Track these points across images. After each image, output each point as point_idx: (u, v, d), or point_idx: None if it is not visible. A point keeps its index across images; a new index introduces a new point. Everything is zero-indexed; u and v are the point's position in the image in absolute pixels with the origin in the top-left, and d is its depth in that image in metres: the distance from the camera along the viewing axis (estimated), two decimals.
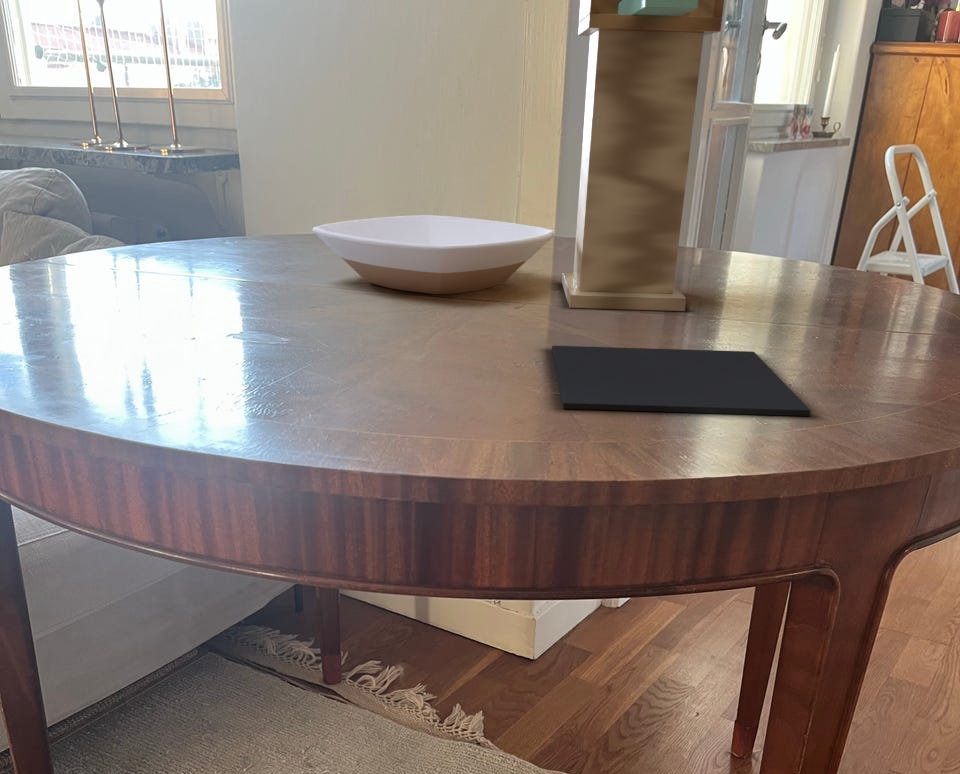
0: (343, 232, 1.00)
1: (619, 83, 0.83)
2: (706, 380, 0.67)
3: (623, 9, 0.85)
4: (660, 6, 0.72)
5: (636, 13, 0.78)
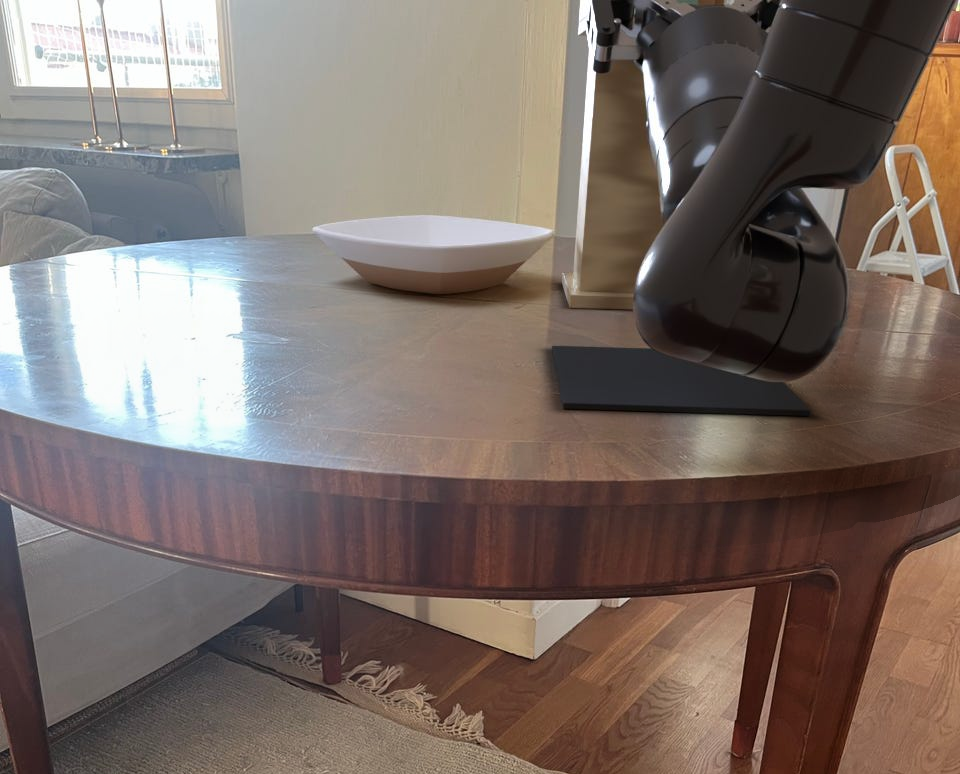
0: (343, 232, 1.00)
1: (619, 83, 0.83)
2: (706, 380, 0.67)
3: None
4: None
5: None
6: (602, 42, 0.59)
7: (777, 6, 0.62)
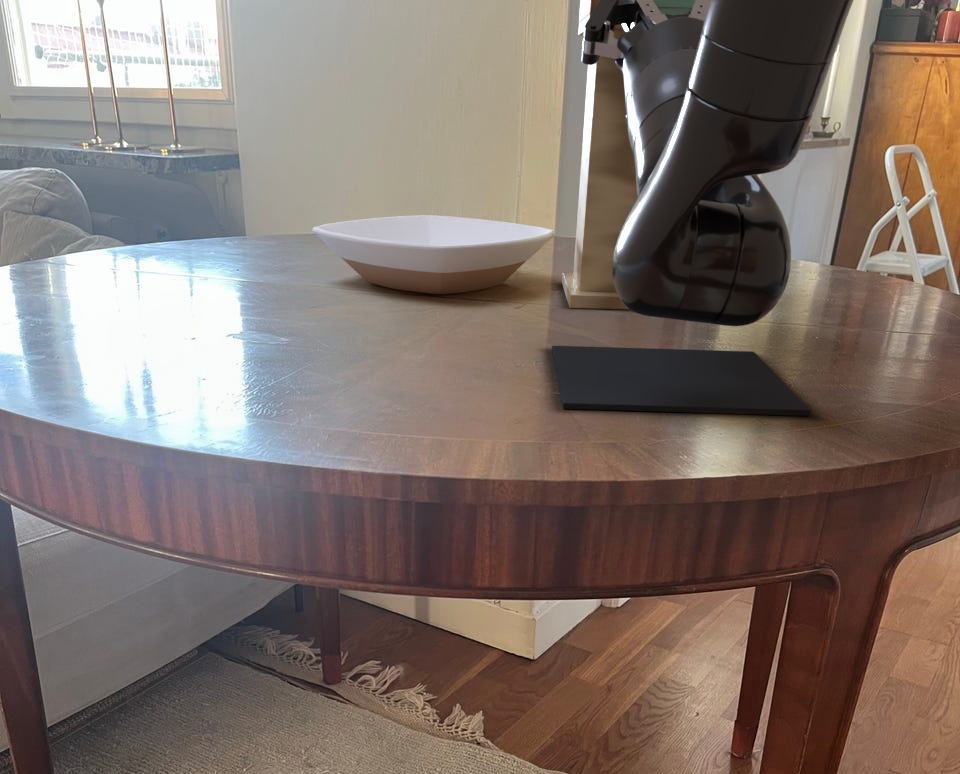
0: (343, 232, 1.00)
1: (619, 83, 0.83)
2: (706, 380, 0.67)
3: None
4: (660, 6, 0.72)
5: None
6: (587, 37, 0.70)
7: None
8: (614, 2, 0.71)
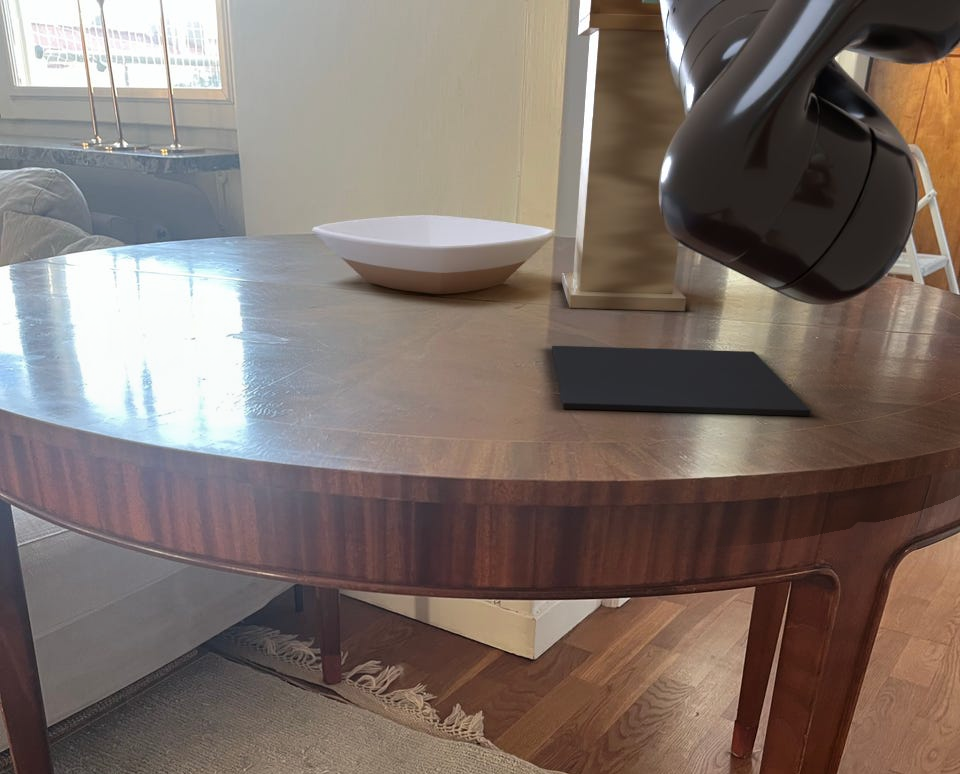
0: (343, 232, 1.00)
1: (619, 83, 0.83)
2: (706, 380, 0.67)
3: None
4: None
5: None
6: None
7: None
8: None
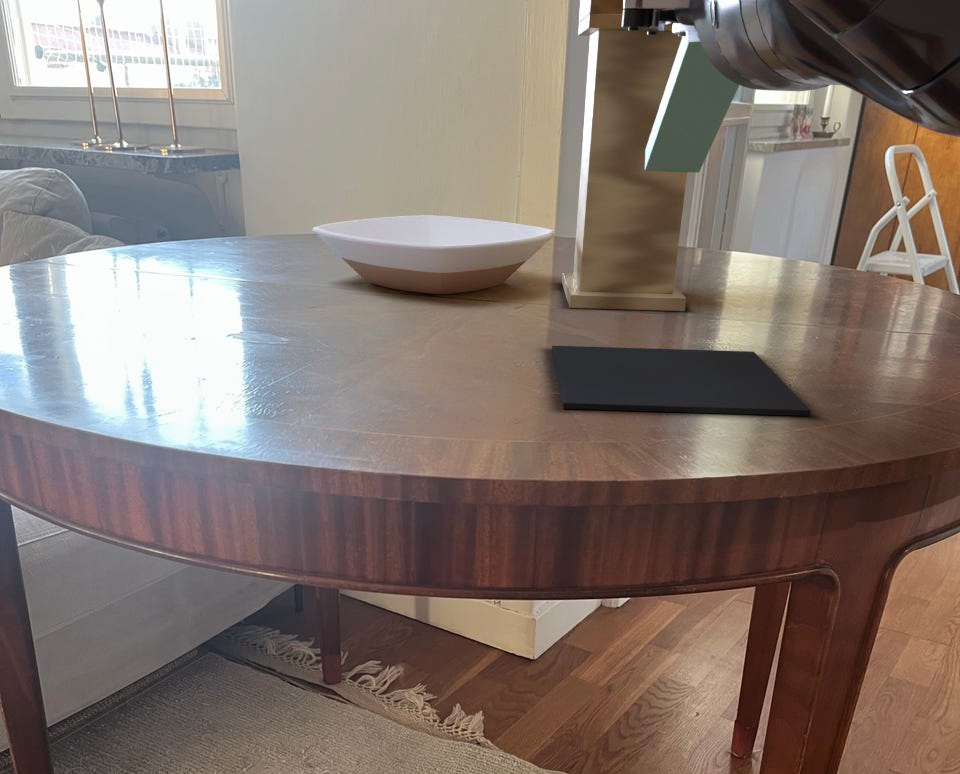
0: (343, 232, 1.00)
1: (619, 83, 0.83)
2: (706, 380, 0.67)
3: (656, 125, 0.65)
4: None
5: (685, 62, 0.56)
6: None
7: None
8: None
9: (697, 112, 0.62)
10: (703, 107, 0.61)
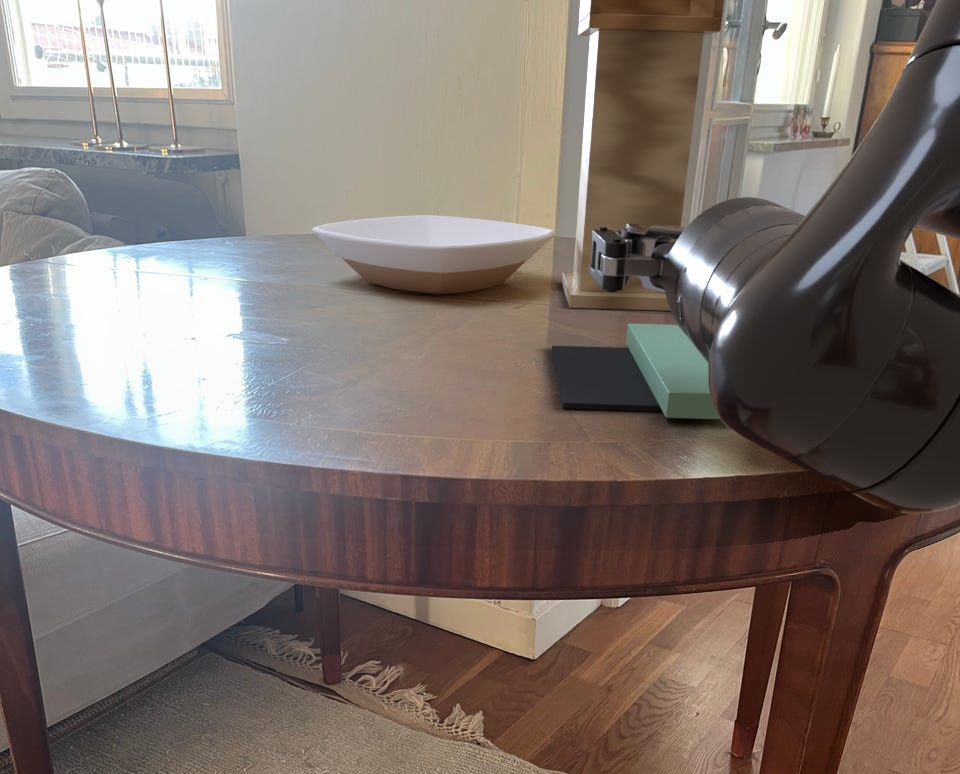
0: (343, 232, 1.00)
1: (619, 83, 0.83)
2: None
3: (634, 347, 0.72)
4: (684, 417, 0.59)
5: None
6: (613, 254, 0.51)
7: None
8: (614, 232, 0.55)
9: None
10: None
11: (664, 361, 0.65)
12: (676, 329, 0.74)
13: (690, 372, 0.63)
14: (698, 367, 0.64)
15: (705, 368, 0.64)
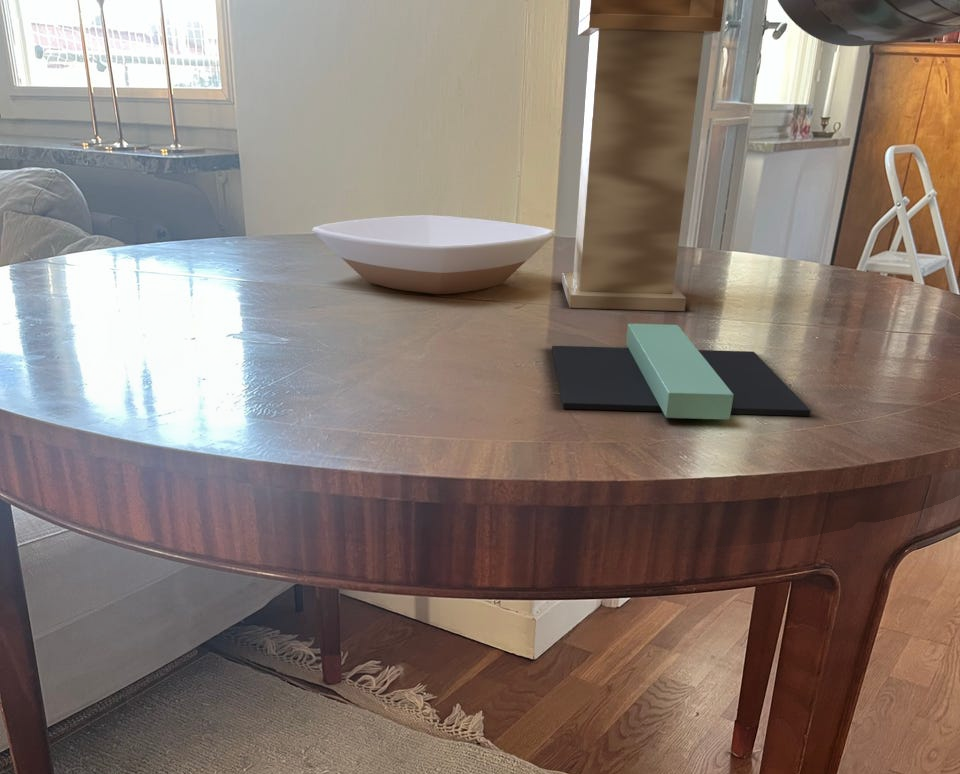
0: (343, 232, 1.00)
1: (619, 83, 0.83)
2: None
3: (634, 347, 0.72)
4: (684, 417, 0.59)
5: None
6: None
7: None
8: None
9: None
10: None
11: (664, 361, 0.65)
12: (676, 329, 0.74)
13: (690, 372, 0.63)
14: (698, 367, 0.64)
15: (705, 368, 0.64)
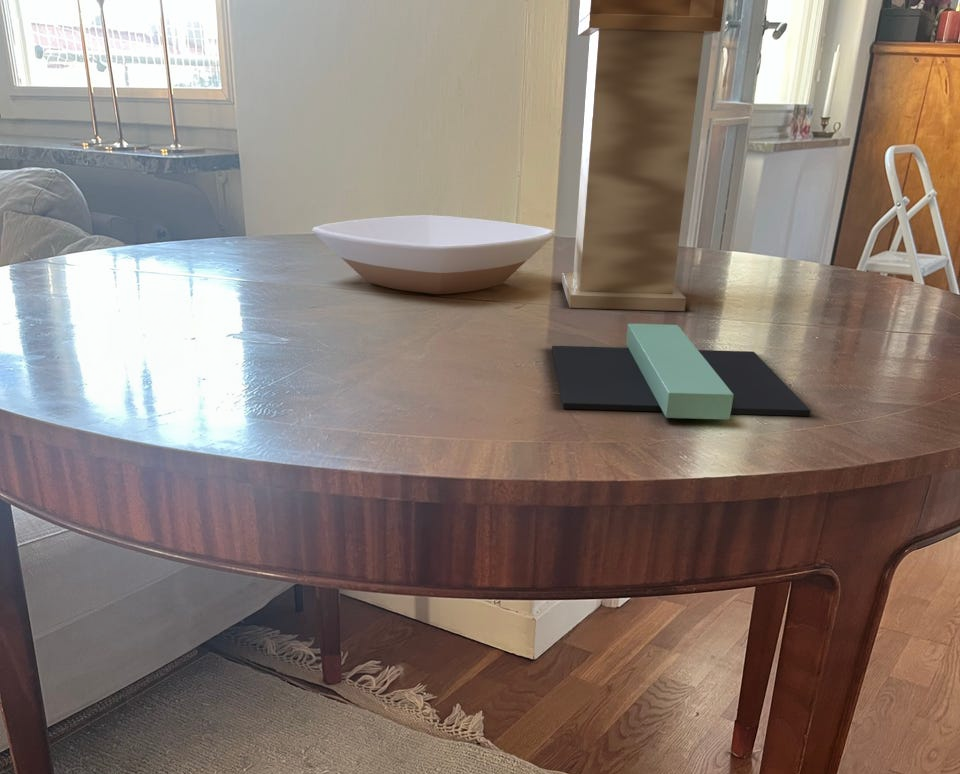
0: (343, 232, 1.00)
1: (619, 83, 0.83)
2: None
3: (634, 347, 0.72)
4: (684, 417, 0.59)
5: None
6: None
7: None
8: None
9: None
10: None
11: (664, 361, 0.65)
12: (676, 329, 0.74)
13: (690, 372, 0.63)
14: (698, 367, 0.64)
15: (705, 368, 0.64)
